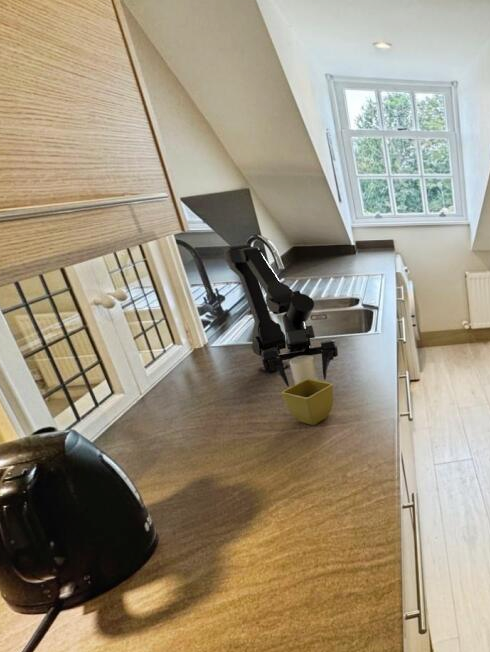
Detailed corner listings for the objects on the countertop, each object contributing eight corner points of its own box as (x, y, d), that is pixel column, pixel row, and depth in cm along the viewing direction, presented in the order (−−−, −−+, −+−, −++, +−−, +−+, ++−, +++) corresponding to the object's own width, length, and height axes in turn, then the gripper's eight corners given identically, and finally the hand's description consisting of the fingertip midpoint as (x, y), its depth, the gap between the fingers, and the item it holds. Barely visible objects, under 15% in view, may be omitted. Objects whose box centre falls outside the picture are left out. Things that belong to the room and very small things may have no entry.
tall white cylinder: (294, 404, 123) (284, 360, 118) (314, 396, 128) (304, 353, 122) (307, 410, 120) (297, 365, 115) (327, 401, 124) (318, 357, 119)
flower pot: (339, 414, 117) (333, 383, 114) (314, 431, 110) (307, 398, 106) (314, 408, 121) (307, 378, 117) (288, 424, 113) (280, 392, 110)
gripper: (253, 322, 115) (262, 377, 110) (330, 311, 121) (342, 363, 116) (261, 342, 124) (270, 393, 119) (332, 331, 131) (343, 379, 126)
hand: (306, 382), depth 120 cm, fingers open, 9 cm apart
